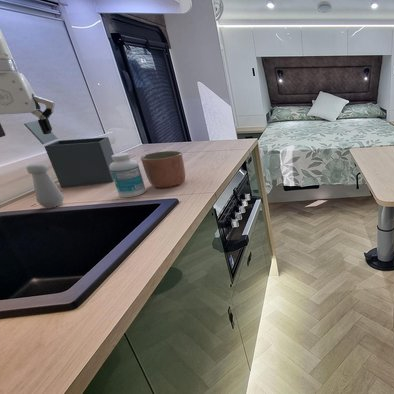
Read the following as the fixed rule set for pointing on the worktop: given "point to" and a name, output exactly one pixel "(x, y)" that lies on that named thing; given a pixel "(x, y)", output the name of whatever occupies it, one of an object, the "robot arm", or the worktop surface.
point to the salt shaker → (45, 186)
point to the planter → (164, 168)
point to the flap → (40, 132)
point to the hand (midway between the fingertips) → (24, 135)
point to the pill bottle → (126, 175)
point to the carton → (81, 161)
